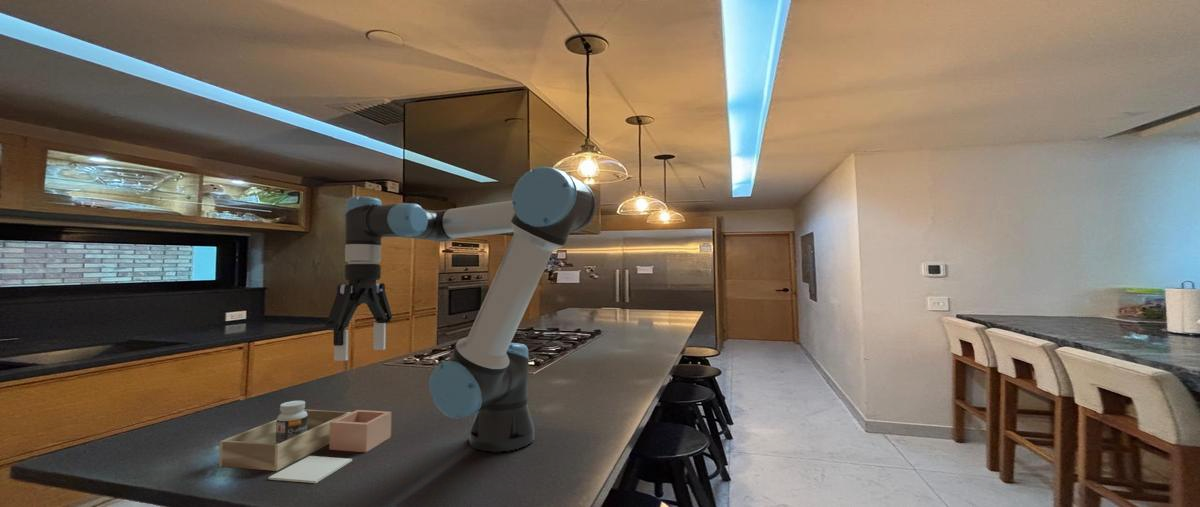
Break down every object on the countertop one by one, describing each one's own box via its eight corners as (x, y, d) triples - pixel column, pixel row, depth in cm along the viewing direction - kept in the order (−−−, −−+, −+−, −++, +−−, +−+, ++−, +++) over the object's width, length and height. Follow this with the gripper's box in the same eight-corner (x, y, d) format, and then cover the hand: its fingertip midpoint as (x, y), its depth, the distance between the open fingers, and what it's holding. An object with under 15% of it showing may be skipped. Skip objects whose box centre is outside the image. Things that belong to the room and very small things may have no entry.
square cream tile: (352, 460, 93) (352, 458, 93) (315, 483, 83) (315, 481, 83) (309, 457, 95) (309, 455, 95) (268, 479, 85) (268, 477, 85)
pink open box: (390, 437, 107) (391, 411, 107) (366, 452, 98) (367, 424, 98) (356, 434, 108) (357, 409, 108) (329, 449, 99) (330, 422, 99)
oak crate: (302, 429, 111) (303, 409, 111) (350, 432, 109) (351, 412, 110) (219, 466, 90) (220, 441, 90) (277, 470, 88) (278, 445, 89)
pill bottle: (290, 454, 96) (292, 408, 97) (268, 451, 98) (270, 406, 98) (312, 444, 102) (314, 400, 102) (291, 442, 103) (293, 398, 104)
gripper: (380, 264, 117) (379, 345, 116) (307, 262, 92) (304, 365, 91) (407, 264, 116) (406, 346, 115) (340, 261, 91) (338, 366, 91)
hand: (361, 354), depth 103 cm, fingers open, 13 cm apart
